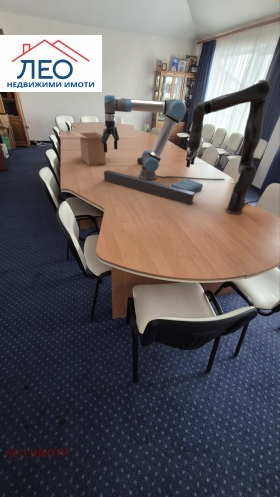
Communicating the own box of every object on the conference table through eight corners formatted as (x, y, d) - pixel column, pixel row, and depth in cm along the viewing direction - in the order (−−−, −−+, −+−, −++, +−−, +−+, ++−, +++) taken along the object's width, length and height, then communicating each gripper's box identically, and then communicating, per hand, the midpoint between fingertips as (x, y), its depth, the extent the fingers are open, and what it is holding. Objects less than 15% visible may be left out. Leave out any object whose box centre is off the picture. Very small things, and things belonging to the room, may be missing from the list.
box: (116, 165, 229) (116, 136, 213) (83, 168, 214) (80, 137, 198) (102, 154, 259) (101, 128, 243) (71, 156, 244) (68, 129, 228)
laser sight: (156, 166, 234) (157, 157, 228) (136, 164, 237) (136, 154, 231) (158, 164, 241) (159, 154, 236) (138, 162, 244) (138, 152, 238)
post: (104, 180, 192) (104, 171, 187) (107, 178, 196) (107, 169, 191) (190, 204, 163) (192, 194, 158) (192, 202, 166) (194, 192, 161)
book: (186, 184, 196) (187, 178, 193) (201, 190, 188) (203, 184, 185) (170, 190, 183) (171, 184, 180) (185, 196, 174) (187, 190, 171)
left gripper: (103, 122, 154) (105, 154, 167) (123, 119, 172) (123, 148, 184) (95, 121, 157) (97, 152, 170) (115, 118, 175) (116, 147, 187)
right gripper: (196, 142, 135) (191, 169, 145) (203, 139, 145) (198, 164, 155) (185, 140, 138) (180, 167, 147) (192, 137, 148) (188, 162, 158)
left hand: (110, 150), depth 177 cm, fingers open, 13 cm apart
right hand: (189, 165), depth 151 cm, fingers open, 8 cm apart
